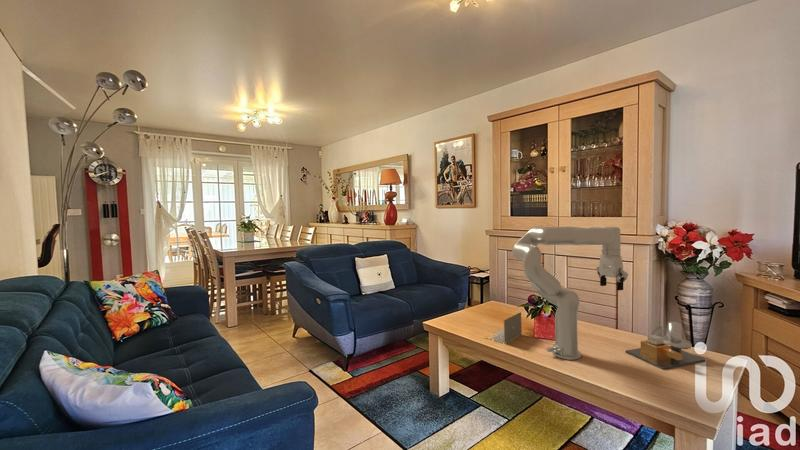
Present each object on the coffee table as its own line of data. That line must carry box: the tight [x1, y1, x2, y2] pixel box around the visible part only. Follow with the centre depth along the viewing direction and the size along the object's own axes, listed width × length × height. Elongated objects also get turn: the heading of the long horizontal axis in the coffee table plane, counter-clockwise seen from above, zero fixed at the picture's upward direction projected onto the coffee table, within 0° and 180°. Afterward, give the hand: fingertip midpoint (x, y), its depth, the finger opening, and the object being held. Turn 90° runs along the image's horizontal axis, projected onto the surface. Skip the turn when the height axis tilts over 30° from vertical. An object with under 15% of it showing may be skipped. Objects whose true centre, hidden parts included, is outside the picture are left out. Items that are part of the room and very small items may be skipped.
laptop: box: [490, 312, 523, 345], centre depth 191 cm, size 18×12×13 cm
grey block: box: [647, 334, 663, 346], centre depth 158 cm, size 4×4×9 cm
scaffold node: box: [625, 320, 706, 370], centre depth 158 cm, size 24×20×15 cm
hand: (611, 287), depth 168 cm, fingers open, 9 cm apart
